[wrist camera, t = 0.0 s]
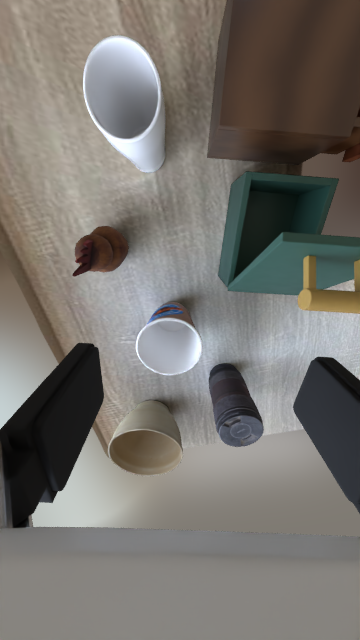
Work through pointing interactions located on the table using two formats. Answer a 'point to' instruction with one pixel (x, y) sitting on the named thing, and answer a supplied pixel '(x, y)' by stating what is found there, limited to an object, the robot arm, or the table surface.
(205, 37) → the table surface
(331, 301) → the lid
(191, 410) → the table surface
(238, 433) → the camera lens
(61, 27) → the table surface
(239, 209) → the chest
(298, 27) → the cabinet
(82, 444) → the robot arm
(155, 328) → the coffee cup
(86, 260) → the wooden figurine
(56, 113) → the table surface
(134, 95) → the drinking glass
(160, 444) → the planter bowl
